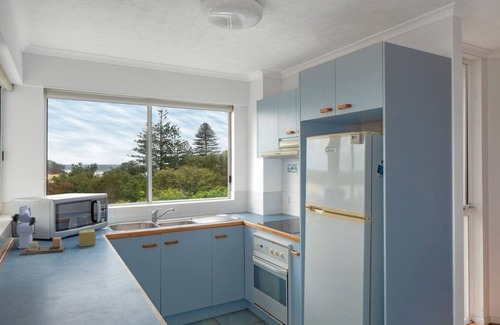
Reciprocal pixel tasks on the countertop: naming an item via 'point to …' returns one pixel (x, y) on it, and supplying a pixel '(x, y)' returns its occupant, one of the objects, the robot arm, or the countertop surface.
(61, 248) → the puzzle board
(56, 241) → the terracotta block
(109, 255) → the countertop surface
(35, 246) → the maple block
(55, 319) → the countertop surface
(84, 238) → the cheese
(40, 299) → the countertop surface
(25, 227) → the robot arm
